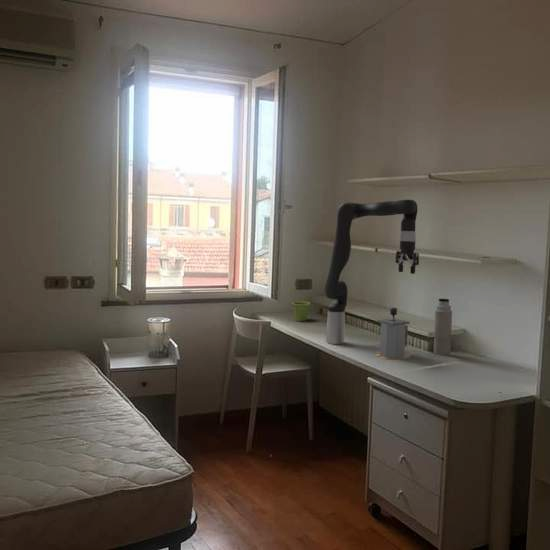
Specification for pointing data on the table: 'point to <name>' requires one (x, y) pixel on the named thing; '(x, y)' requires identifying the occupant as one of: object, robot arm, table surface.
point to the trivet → (406, 356)
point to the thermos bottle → (443, 328)
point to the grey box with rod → (393, 337)
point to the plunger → (393, 312)
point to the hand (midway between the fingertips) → (406, 272)
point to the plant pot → (300, 310)
